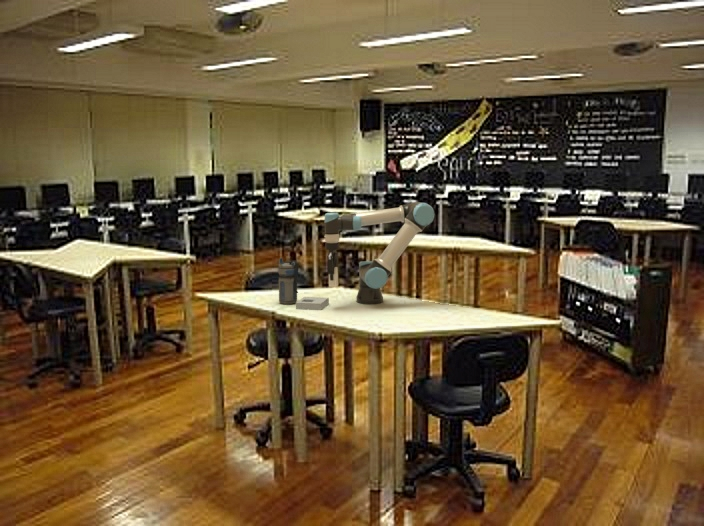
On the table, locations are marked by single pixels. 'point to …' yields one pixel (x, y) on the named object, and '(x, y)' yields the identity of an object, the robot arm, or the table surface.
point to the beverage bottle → (288, 281)
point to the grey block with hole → (312, 303)
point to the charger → (335, 277)
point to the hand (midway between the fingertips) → (333, 285)
